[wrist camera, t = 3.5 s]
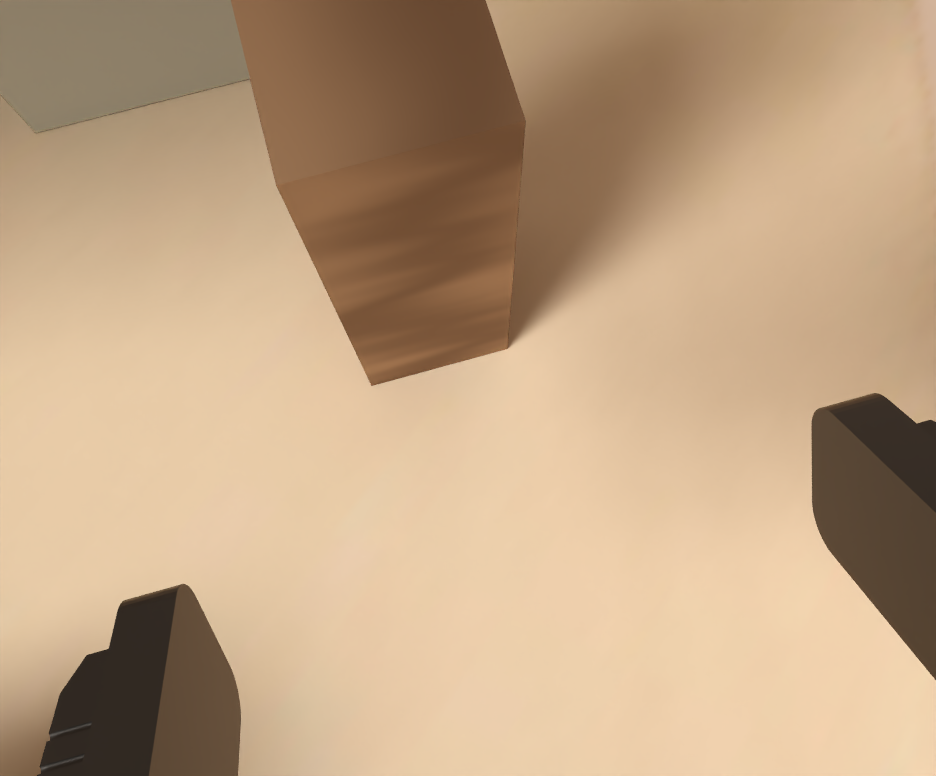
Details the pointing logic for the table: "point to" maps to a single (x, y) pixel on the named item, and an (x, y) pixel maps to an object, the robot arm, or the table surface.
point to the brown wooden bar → (395, 167)
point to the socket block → (112, 55)
